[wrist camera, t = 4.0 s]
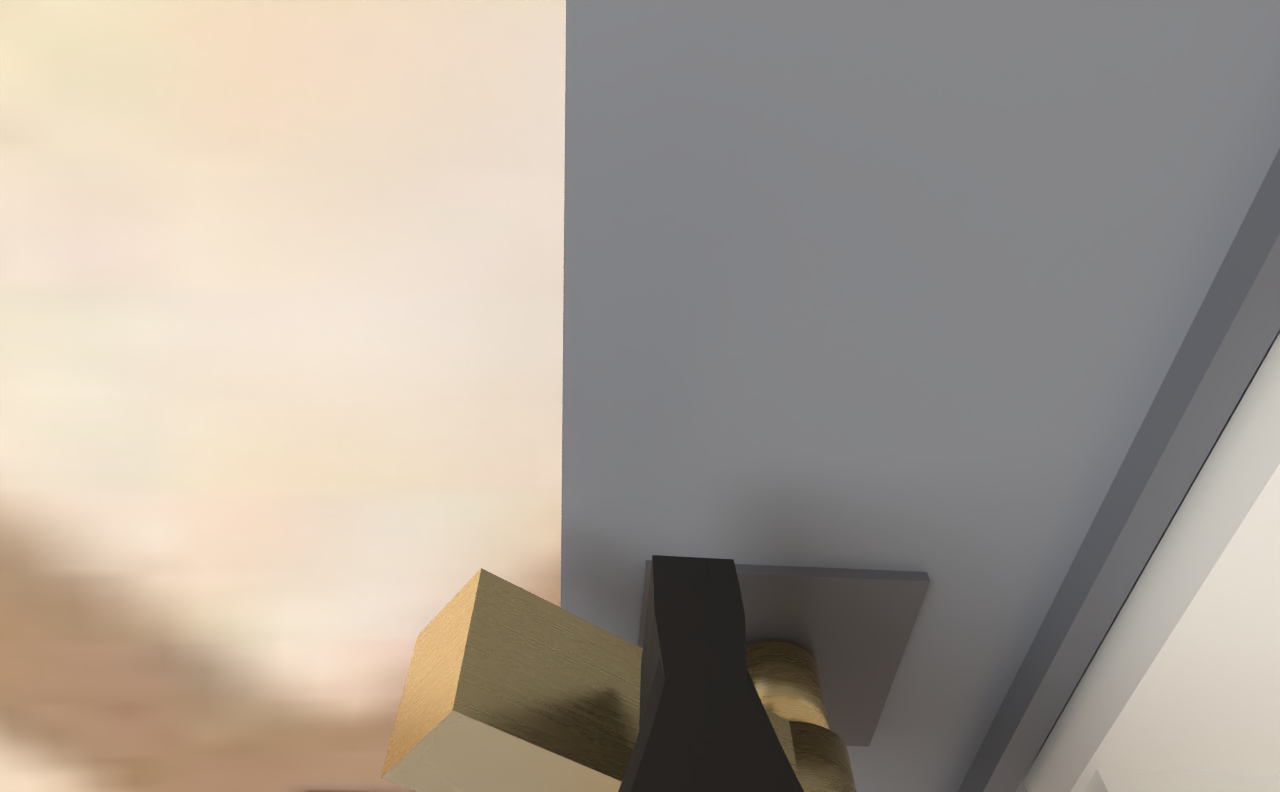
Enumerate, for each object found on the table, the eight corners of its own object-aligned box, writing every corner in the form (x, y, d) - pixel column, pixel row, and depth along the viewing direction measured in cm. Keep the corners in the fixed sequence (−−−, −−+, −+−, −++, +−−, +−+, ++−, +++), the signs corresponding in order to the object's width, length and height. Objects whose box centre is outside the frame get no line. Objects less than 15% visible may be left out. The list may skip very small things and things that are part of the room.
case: (1239, 750, 20) (1323, 885, 18) (566, 727, 20) (556, 863, 17) (2124, -351, 9) (2712, -407, 6) (588, -479, 8) (565, -597, 6)
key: (853, 664, 14) (910, 892, 11) (771, 721, 15) (804, 946, 12) (505, 474, 12) (462, 701, 9) (434, 555, 13) (371, 785, 10)
